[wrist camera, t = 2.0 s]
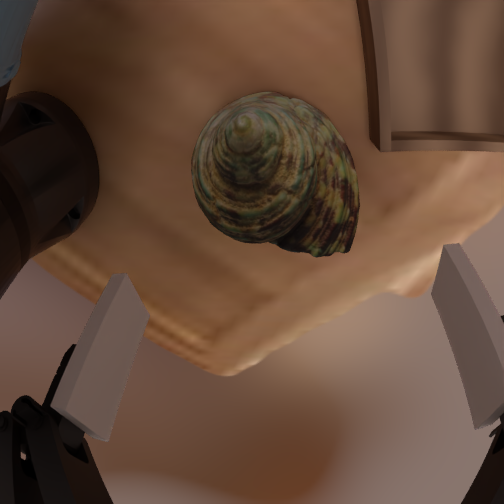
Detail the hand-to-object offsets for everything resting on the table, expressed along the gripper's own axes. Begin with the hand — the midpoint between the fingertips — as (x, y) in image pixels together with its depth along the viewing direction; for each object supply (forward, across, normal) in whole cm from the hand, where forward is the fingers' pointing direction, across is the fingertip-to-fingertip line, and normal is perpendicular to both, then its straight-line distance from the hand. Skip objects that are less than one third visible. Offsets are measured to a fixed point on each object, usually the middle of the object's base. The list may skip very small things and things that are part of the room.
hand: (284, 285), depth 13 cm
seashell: (+14, 0, 0) cm, 14 cm away
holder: (+14, +14, +15) cm, 24 cm away
